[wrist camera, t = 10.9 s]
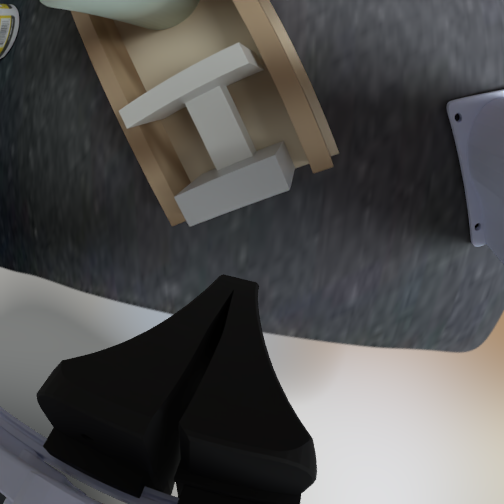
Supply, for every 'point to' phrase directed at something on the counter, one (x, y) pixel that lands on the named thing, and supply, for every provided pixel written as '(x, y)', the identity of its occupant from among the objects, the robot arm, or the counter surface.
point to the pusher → (217, 135)
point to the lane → (242, 92)
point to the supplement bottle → (8, 27)
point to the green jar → (132, 10)
